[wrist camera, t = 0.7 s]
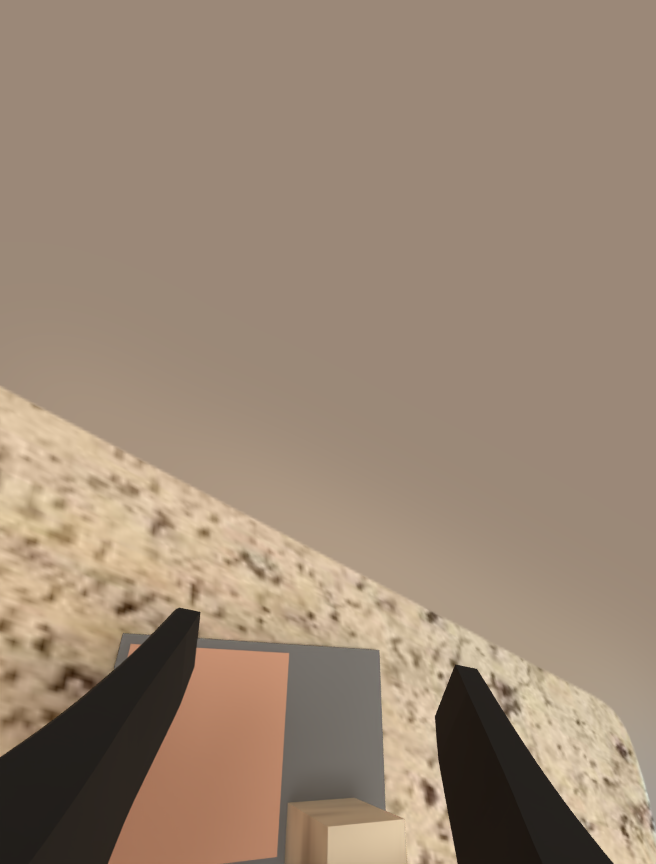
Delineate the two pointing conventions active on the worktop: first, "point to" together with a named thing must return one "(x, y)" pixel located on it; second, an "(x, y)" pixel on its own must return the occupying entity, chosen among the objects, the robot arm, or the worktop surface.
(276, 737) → the rubber mat
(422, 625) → the worktop surface
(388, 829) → the birch block
